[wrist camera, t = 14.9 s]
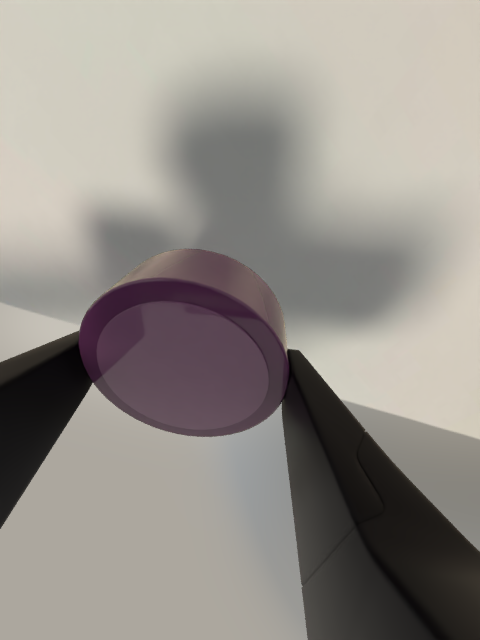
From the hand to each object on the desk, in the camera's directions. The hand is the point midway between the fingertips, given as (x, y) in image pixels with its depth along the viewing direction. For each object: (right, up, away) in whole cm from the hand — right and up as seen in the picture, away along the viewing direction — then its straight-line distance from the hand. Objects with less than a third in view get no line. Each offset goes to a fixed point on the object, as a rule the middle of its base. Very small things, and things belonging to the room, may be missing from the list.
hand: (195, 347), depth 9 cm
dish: (0, +1, +1) cm, 1 cm away
